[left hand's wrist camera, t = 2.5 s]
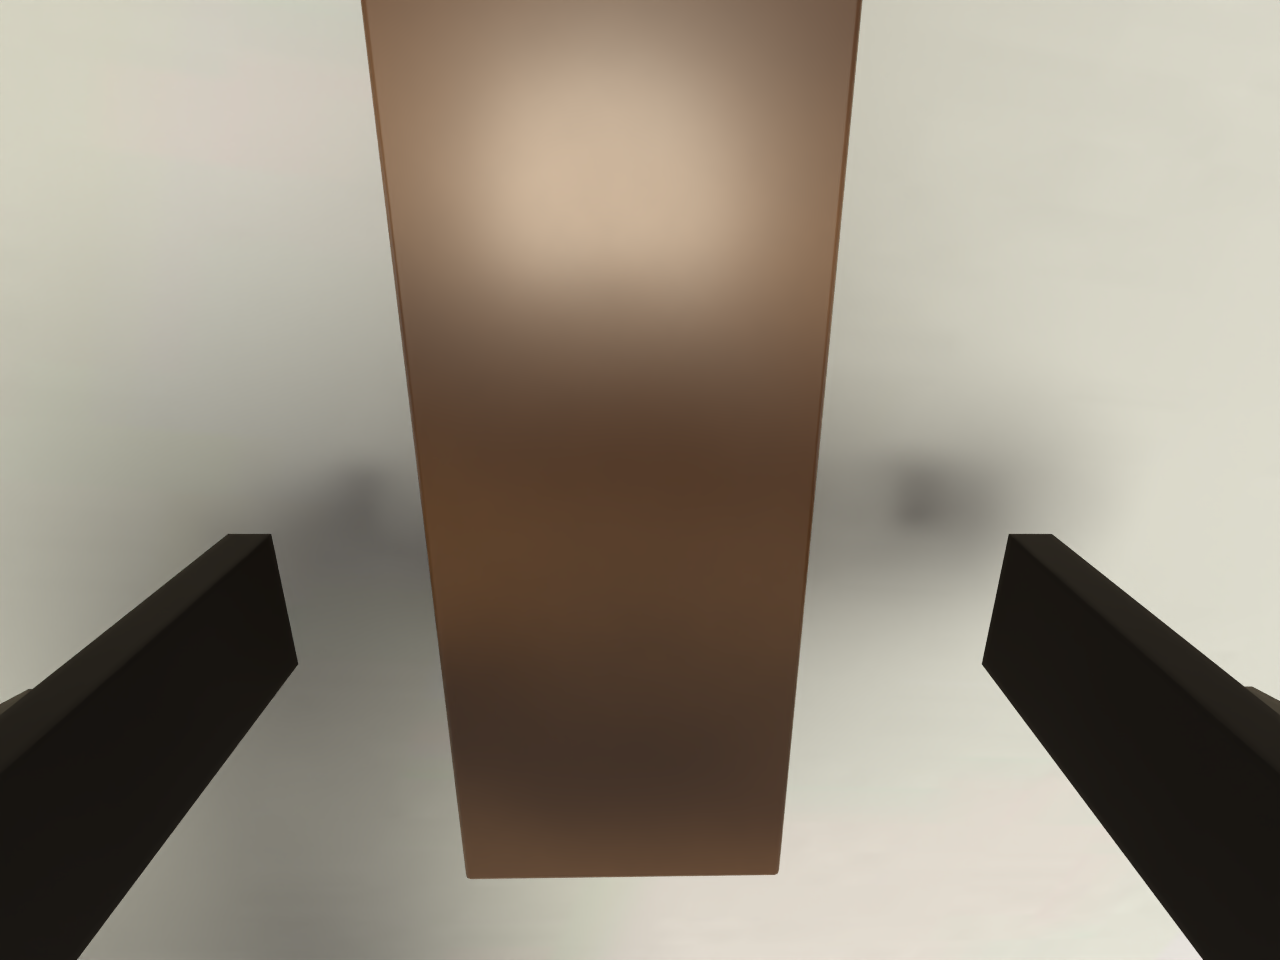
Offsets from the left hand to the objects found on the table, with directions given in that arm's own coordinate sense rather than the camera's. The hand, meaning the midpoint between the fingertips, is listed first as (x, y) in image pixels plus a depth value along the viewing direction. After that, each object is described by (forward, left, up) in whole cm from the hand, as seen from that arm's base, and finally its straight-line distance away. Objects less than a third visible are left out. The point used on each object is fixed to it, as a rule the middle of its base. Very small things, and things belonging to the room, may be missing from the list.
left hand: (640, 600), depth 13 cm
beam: (+14, +25, -5) cm, 29 cm away
